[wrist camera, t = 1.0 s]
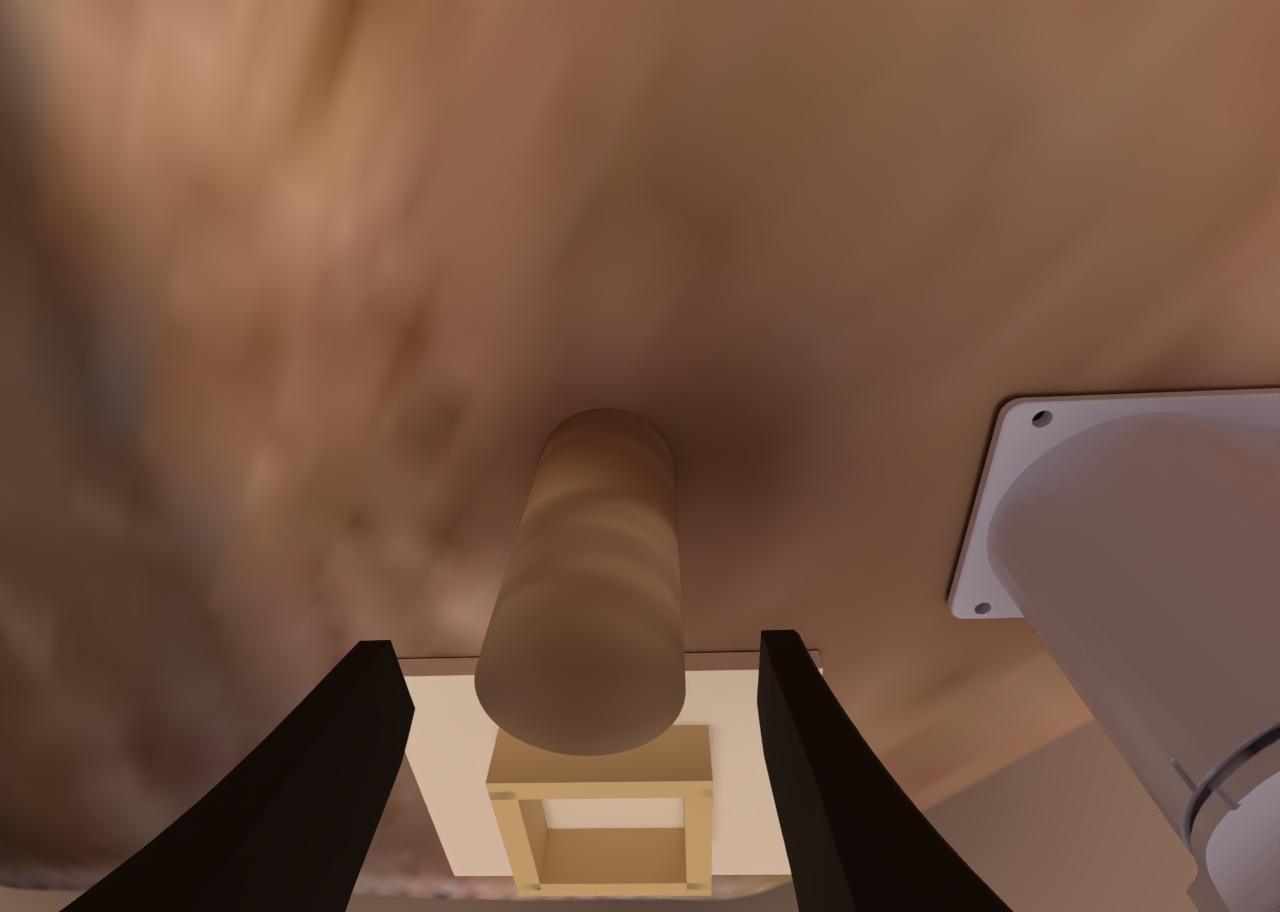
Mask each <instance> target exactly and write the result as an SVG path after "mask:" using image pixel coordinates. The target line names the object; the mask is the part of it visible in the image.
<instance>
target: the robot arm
mask: <svg viewBox="0 0 1280 912" xmlns="http://www.w3.org/2000/svg"><path fill="white" fill-rule="evenodd" d="M1041 411H1045V412H1044V414H1043V416H1042V417H1041V418H1039V419H1038V420H1035V421H1032V419H1033V417H1034V416H1035V415H1036V414H1037V413H1039V412H1041ZM980 603H982V604H981V605H979V604H980ZM948 608H949V609H950V611H951V613H952V614H953V616H955V617H957V618H961V619H979V618H1024V617H1025V619H1026V620H1027V621H1028V623H1029V624H1030V626H1031V627H1032V629H1033V630H1034V631H1035V633H1036V634H1037V636H1038V637H1039V638H1040V640H1041V641H1042V643H1043V644H1044V646H1045V647H1046V648H1047V650H1048V651H1049V653H1050V654H1051V656H1052V657H1053V658H1054V660H1055V661H1056V663H1057V664H1058V666H1059V667H1060V668H1061V670H1062V671H1063V673H1064V674H1065V676H1066V677H1067V678H1068V680H1069V681H1070V683H1071V684H1072V685H1073V687H1074V688H1075V690H1076V691H1077V693H1078V694H1079V695H1080V697H1081V698H1082V700H1083V701H1084V703H1085V704H1086V705H1087V707H1088V708H1089V710H1090V711H1091V713H1092V714H1093V715H1094V717H1095V718H1096V720H1097V721H1098V723H1099V724H1100V725H1101V727H1102V728H1103V730H1104V731H1105V732H1106V734H1107V735H1108V737H1109V738H1110V740H1111V741H1112V742H1113V744H1114V745H1115V747H1116V748H1117V749H1118V751H1119V752H1120V754H1121V755H1122V757H1123V758H1124V760H1125V761H1126V762H1127V764H1128V765H1129V767H1130V768H1131V769H1132V771H1133V772H1134V774H1135V775H1136V777H1137V778H1138V779H1139V781H1140V782H1141V784H1142V785H1143V787H1144V788H1145V789H1146V791H1147V792H1148V794H1149V795H1150V797H1151V798H1152V799H1153V801H1154V802H1155V804H1156V805H1157V806H1158V808H1159V809H1160V811H1161V812H1162V813H1163V815H1164V817H1165V818H1166V819H1167V821H1168V822H1169V824H1170V825H1171V826H1172V828H1173V829H1174V831H1175V832H1176V834H1177V835H1178V837H1179V838H1180V839H1181V841H1182V842H1183V844H1184V845H1185V846H1186V848H1187V849H1188V850H1189V851H1190V852H1191V854H1192V855H1193V856H1194V858H1195V860H1196V863H1197V866H1198V874H1197V876H1196V879H1195V880H1194V881H1193V883H1192V884H1191V885H1190V886H1189V887H1188V889H1187V894H1188V895H1189V897H1190V898H1191V900H1192V901H1193V903H1194V904H1195V906H1196V907H1197V909H1198V910H1199V912H1280V388H1267V389H1241V390H1214V391H1187V392H1161V393H1134V394H1107V395H1081V396H1054V397H1027V398H1018V399H1014V400H1012V401H1010V402H1008V403H1007V404H1006V405H1005V406H1004V407H1003V408H1002V409H1001V411H1000V413H999V415H998V418H997V422H996V426H995V429H994V433H993V437H992V440H991V444H990V448H989V451H988V455H987V459H986V462H985V466H984V470H983V473H982V477H981V481H980V484H979V488H978V492H977V495H976V499H975V503H974V506H973V510H972V514H971V517H970V521H969V525H968V528H967V532H966V536H965V539H964V543H963V547H962V550H961V554H960V558H959V561H958V565H957V569H956V572H955V576H954V580H953V583H952V587H951V591H950V594H949V598H948ZM757 708H758V716H759V724H760V732H761V739H762V746H763V754H764V759H765V763H766V768H767V772H768V776H769V781H770V785H771V789H772V794H773V798H774V802H775V806H776V811H777V815H778V819H779V823H780V827H781V832H782V836H783V840H784V844H785V849H786V853H787V857H788V861H789V866H790V870H791V874H792V878H793V883H794V887H795V893H796V898H797V903H798V908H799V912H1013V911H1012V910H1011V909H1010V908H1009V907H1008V906H1007V905H1006V904H1005V903H1004V902H1003V901H1002V900H1001V899H1000V898H999V897H998V896H997V895H996V894H995V893H994V892H993V890H992V889H991V888H989V886H988V885H986V883H984V882H983V880H982V879H981V878H980V877H979V876H978V875H977V874H976V873H975V872H974V871H973V870H972V869H971V868H970V867H969V866H968V865H967V864H966V863H965V862H964V861H963V859H962V858H961V857H960V856H959V855H958V854H957V853H956V852H955V851H954V849H953V848H952V847H951V846H950V845H949V844H948V843H947V842H946V841H945V840H944V838H942V836H941V835H940V834H939V833H938V832H937V831H936V829H935V828H934V827H933V826H932V825H931V824H930V822H929V821H928V820H927V819H926V818H925V817H924V815H923V814H922V813H921V812H920V811H919V810H918V808H917V807H916V806H915V805H914V804H913V802H912V801H911V800H910V799H909V797H908V796H907V795H906V794H905V793H904V791H903V790H902V789H901V788H900V786H899V785H898V784H897V783H896V781H895V780H894V779H893V777H892V776H891V775H890V773H889V772H888V771H887V770H886V768H885V767H884V766H883V764H882V763H881V762H880V760H879V759H878V758H877V756H876V755H875V754H874V752H873V751H872V750H871V748H870V747H869V745H868V744H867V743H866V741H865V740H864V739H863V737H862V736H861V734H860V733H859V731H858V730H857V728H856V727H855V726H854V724H853V723H852V721H851V720H850V718H849V717H848V715H847V714H846V712H845V711H844V709H843V708H842V707H841V705H840V703H839V702H838V700H837V699H836V697H835V696H834V694H833V693H832V691H831V689H830V688H829V686H828V685H827V683H826V681H825V680H824V678H823V677H822V675H821V673H820V672H819V670H818V668H817V666H816V665H815V663H814V661H813V660H812V658H811V656H810V654H809V652H808V651H807V649H806V647H805V645H804V643H803V641H802V639H801V637H800V635H799V634H798V633H797V632H796V631H795V630H766V631H761V645H760V659H759V674H758V689H757ZM414 712H415V706H414V703H413V701H412V698H411V695H410V692H409V690H408V687H407V684H406V681H405V679H404V676H403V673H402V671H401V668H400V665H399V662H398V660H397V657H396V654H395V651H394V649H393V646H392V643H391V640H374V641H359V642H358V643H357V644H356V645H355V646H354V647H353V649H352V650H351V651H350V652H349V653H348V654H347V655H346V656H345V657H344V658H343V659H342V660H341V661H340V662H339V663H338V664H337V665H336V666H335V667H334V668H333V669H332V670H331V671H330V672H329V673H328V674H327V676H326V677H325V678H324V679H323V680H322V681H321V682H320V683H319V684H318V685H317V686H316V687H315V688H314V689H313V690H312V691H311V692H310V693H309V694H308V695H307V696H306V697H305V699H304V700H303V701H302V702H301V703H300V704H299V705H298V706H297V707H296V708H295V709H294V710H293V711H292V712H291V713H290V714H289V715H288V716H287V717H286V718H285V719H284V720H283V721H282V722H281V723H280V724H279V725H278V726H277V727H276V728H275V729H274V730H273V731H272V732H271V733H270V734H269V735H268V736H267V737H266V738H265V739H264V740H263V741H262V742H261V743H260V744H259V745H258V746H257V747H256V748H255V749H254V750H253V751H252V752H251V753H250V754H249V755H248V756H247V757H246V758H244V759H243V760H242V761H241V762H240V763H239V764H238V765H237V766H236V767H235V768H234V769H233V770H232V771H231V772H230V773H229V774H228V775H227V776H226V777H224V778H223V779H222V780H221V781H220V782H219V783H218V784H217V785H216V786H215V787H214V788H213V789H212V790H211V791H209V792H208V793H207V794H206V795H205V796H204V797H203V798H202V799H200V800H199V801H198V802H197V803H196V804H195V805H194V806H192V807H191V808H190V809H189V810H188V811H187V812H186V813H184V814H183V815H182V816H181V817H180V818H178V819H177V820H176V821H175V822H174V823H172V824H171V825H170V826H169V827H168V828H166V829H165V830H164V831H163V832H162V833H161V834H159V835H158V836H157V837H156V838H155V839H153V840H152V841H151V842H150V843H148V844H147V845H146V846H145V847H143V848H142V849H141V850H140V851H139V852H137V853H136V854H135V855H133V856H132V857H131V858H129V859H128V860H127V861H125V862H124V863H123V864H122V865H120V866H119V867H118V868H116V869H115V870H114V871H112V872H111V873H110V874H108V875H107V876H106V877H105V878H103V879H102V880H101V881H99V882H98V883H97V884H95V885H94V886H93V887H91V888H90V889H89V890H88V891H86V892H85V893H84V894H82V895H81V896H80V897H78V898H77V899H76V900H75V901H73V902H72V903H71V904H69V905H68V906H66V907H65V908H64V909H62V910H61V911H59V912H345V911H346V908H347V905H348V902H349V900H350V896H351V894H352V891H353V888H354V885H355V883H356V880H357V878H358V875H359V872H360V870H361V867H362V865H363V862H364V860H365V857H366V854H367V852H368V849H369V847H370V844H371V842H372V839H373V836H374V834H375V831H376V829H377V826H378V823H379V821H380V818H381V816H382V813H383V811H384V808H385V805H386V803H387V800H388V798H389V795H390V792H391V790H392V787H393V784H394V782H395V779H396V777H397V774H398V771H399V768H400V766H401V763H402V760H403V756H404V752H405V748H406V745H407V741H408V737H409V733H410V729H411V725H412V721H413V716H414Z"/></svg>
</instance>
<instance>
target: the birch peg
mask: <svg viewBox="0 0 1280 912" xmlns="http://www.w3.org/2000/svg"><path fill="white" fill-rule="evenodd" d="M474 685H475V690H476V695H477V697H478V700H479V702H480V704H481V706H482V708H483V709H484V711H485V712H486V714H487V715H488V716H489V717H490V719H491V720H492V721H493V722H495V723H496V724H497V725H498V726H499V727H500V728H501V729H503V730H504V731H505V732H507V733H508V734H510V735H511V736H513V737H515V738H516V739H518V740H520V741H522V742H524V743H526V744H529V745H531V746H534V747H537V748H539V749H543V750H546V751H550V752H554V753H559V754H565V755H574V756H603V755H610V754H616V753H621V752H625V751H628V750H632V749H635V748H638V747H640V746H642V745H644V744H647V743H649V742H650V741H652V740H654V739H656V738H657V737H659V736H660V735H661V734H663V733H664V732H665V731H666V730H667V729H668V728H669V727H670V726H671V725H672V724H673V723H674V722H675V720H676V719H677V718H678V716H679V714H680V712H681V710H682V708H683V705H684V701H685V695H686V681H685V662H684V643H683V624H682V605H681V586H680V567H679V548H678V529H677V510H676V491H675V472H674V460H673V456H672V452H671V449H670V447H669V445H668V443H667V441H666V440H665V438H664V437H663V436H662V434H661V433H660V432H659V431H658V430H657V429H656V428H655V427H654V426H653V425H651V424H650V423H649V422H647V421H646V420H644V419H642V418H640V417H638V416H636V415H634V414H631V413H628V412H624V411H620V410H613V409H598V410H591V411H586V412H583V413H580V414H577V415H575V416H573V417H571V418H569V419H567V420H566V421H564V422H563V423H561V424H560V425H559V426H558V427H557V428H556V429H555V430H554V431H553V432H552V434H551V435H550V436H549V438H548V440H547V441H546V444H545V446H544V449H543V452H542V455H541V458H540V462H539V465H538V468H537V471H536V475H535V478H534V481H533V484H532V487H531V491H530V494H529V497H528V500H527V504H526V507H525V510H524V513H523V517H522V520H521V523H520V526H519V530H518V533H517V536H516V539H515V542H514V546H513V549H512V552H511V555H510V559H509V562H508V565H507V568H506V572H505V575H504V578H503V581H502V585H501V588H500V591H499V594H498V597H497V601H496V604H495V607H494V610H493V614H492V617H491V620H490V623H489V627H488V630H487V633H486V636H485V640H484V643H483V646H482V649H481V653H480V656H479V659H478V662H477V665H476V670H475V675H474Z"/></svg>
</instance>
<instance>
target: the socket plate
mask: <svg viewBox="0 0 1280 912" xmlns="http://www.w3.org/2000/svg"><path fill="white" fill-rule="evenodd" d="M808 652H809V654H810V656H811V658H812V660H813V661H814V663H815V665H816V666H817V668H818V670H819V672H820V673H821V675H822V672H823V666H822V663H821V660H820V656H819V653H818V651H808ZM478 659H479V658H433V659H397V660H398V662H399V665H400V668H401V671H402V673H403V676H404V679H405V681H406V684H407V687H408V690H409V692H410V695H411V698H412V701H413V703H414V706H415V712H414V716H413V721H412V725H411V729H410V733H409V737H408V741H407V745H406V748H405V753H406V755H407V758H408V760H409V763H410V765H411V768H412V770H413V773H414V775H415V778H416V780H417V783H418V785H419V788H420V790H421V793H422V795H423V798H424V800H425V803H426V805H427V808H428V810H429V813H430V815H431V818H432V820H433V823H434V825H435V828H436V831H437V833H438V836H439V838H440V841H441V843H442V846H443V848H444V851H445V853H446V856H447V858H448V861H449V863H450V866H451V868H452V871H453V873H454V876H514V880H515V883H516V886H517V890H518V893H519V896H711V879H712V875H753V874H791V870H790V866H789V861H788V857H787V853H786V849H785V844H784V840H783V836H782V832H781V827H780V823H779V819H778V815H777V811H776V806H775V802H774V798H773V794H772V789H771V785H770V781H769V776H768V772H767V768H766V763H765V759H764V754H763V746H762V739H761V732H760V724H759V716H758V708H757V689H758V674H759V659H760V652H725V653H684V662H685V681H686V695H685V701H684V705H683V708H682V710H681V712H680V714H679V716H678V718H677V719H676V720H675V722H674V723H673V724H672V725H671V726H670V727H669V728H668V729H667V730H666V731H665V732H664V733H663V734H661V735H660V736H659V737H657V738H656V739H654V740H652V741H650V742H649V743H647V744H644V745H642V746H640V747H638V748H635V749H632V750H628V751H625V752H621V753H616V754H610V755H603V756H574V755H565V754H559V753H554V752H550V751H546V750H543V749H539V748H537V747H534V746H531V745H529V744H526V743H524V742H522V741H520V740H518V739H516V738H515V737H513V736H511V735H510V734H508V733H507V732H505V731H504V730H503V729H501V728H500V727H499V726H498V725H497V724H496V723H495V722H493V721H492V720H491V719H490V717H489V716H488V715H487V714H486V712H485V711H484V709H483V708H482V706H481V704H480V702H479V700H478V697H477V695H476V690H475V685H474V675H475V670H476V665H477V662H478Z"/></svg>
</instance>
